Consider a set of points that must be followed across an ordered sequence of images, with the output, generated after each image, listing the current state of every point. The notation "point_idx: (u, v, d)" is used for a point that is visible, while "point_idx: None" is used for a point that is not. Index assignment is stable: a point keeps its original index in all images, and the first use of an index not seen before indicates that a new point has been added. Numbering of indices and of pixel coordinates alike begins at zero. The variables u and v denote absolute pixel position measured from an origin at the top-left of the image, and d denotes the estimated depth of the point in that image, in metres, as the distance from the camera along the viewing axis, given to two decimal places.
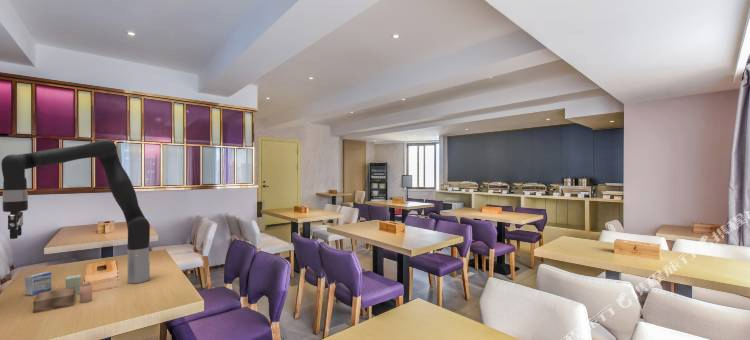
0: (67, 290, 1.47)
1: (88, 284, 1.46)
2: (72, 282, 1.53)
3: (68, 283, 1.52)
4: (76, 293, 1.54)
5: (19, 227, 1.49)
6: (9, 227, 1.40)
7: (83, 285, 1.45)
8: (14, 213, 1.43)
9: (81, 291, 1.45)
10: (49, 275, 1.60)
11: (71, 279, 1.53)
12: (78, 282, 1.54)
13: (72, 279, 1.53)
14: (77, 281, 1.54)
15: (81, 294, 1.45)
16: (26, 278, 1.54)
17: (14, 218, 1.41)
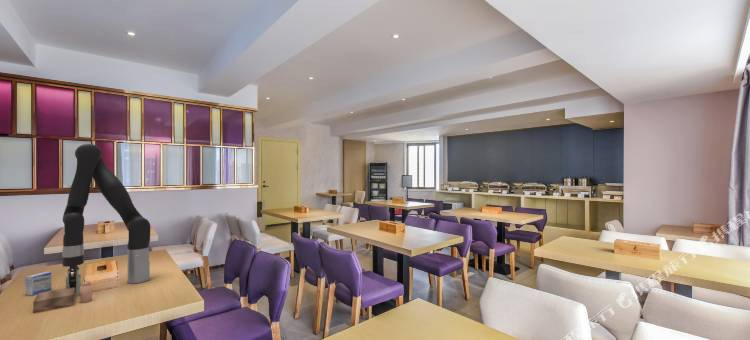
0: (67, 290, 1.47)
1: (88, 284, 1.46)
2: None
3: (68, 283, 1.52)
4: (76, 293, 1.54)
5: None
6: (70, 283, 1.50)
7: (83, 285, 1.45)
8: (73, 268, 1.52)
9: (81, 291, 1.45)
10: (49, 275, 1.60)
11: None
12: (78, 282, 1.54)
13: None
14: (77, 281, 1.54)
15: (81, 294, 1.45)
16: (26, 278, 1.54)
17: (74, 275, 1.51)
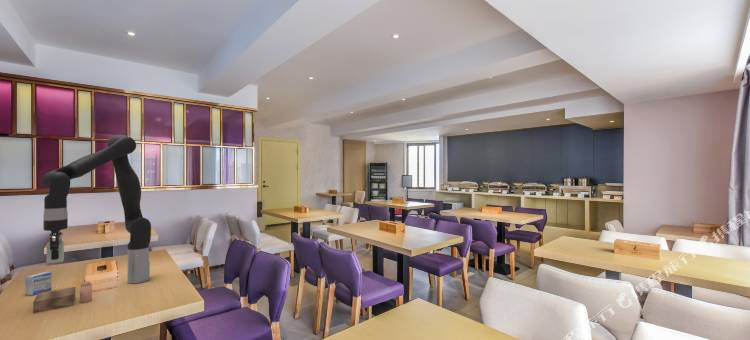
0: (67, 290, 1.47)
1: (88, 284, 1.46)
2: None
3: (49, 249, 1.40)
4: (58, 260, 1.42)
5: None
6: (51, 248, 1.38)
7: (83, 285, 1.45)
8: (55, 232, 1.40)
9: (81, 291, 1.45)
10: (49, 275, 1.60)
11: (53, 245, 1.41)
12: (60, 248, 1.42)
13: (54, 245, 1.41)
14: (59, 247, 1.42)
15: (81, 294, 1.45)
16: (26, 278, 1.54)
17: (56, 240, 1.38)
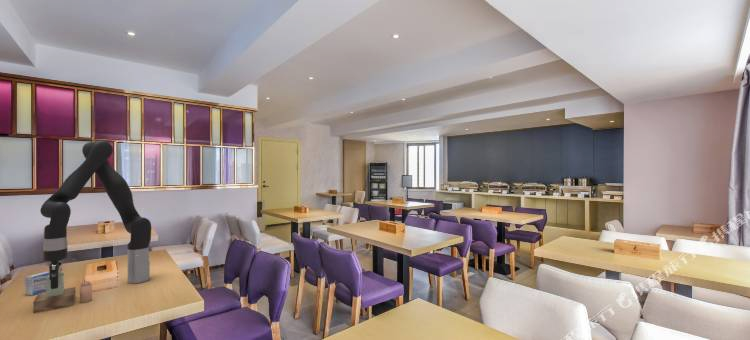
0: (67, 290, 1.47)
1: (88, 284, 1.46)
2: None
3: (49, 283, 1.40)
4: (58, 293, 1.41)
5: None
6: (50, 278, 1.37)
7: (83, 285, 1.45)
8: (55, 262, 1.40)
9: (81, 291, 1.45)
10: None
11: None
12: (60, 281, 1.42)
13: None
14: (59, 280, 1.42)
15: (81, 294, 1.45)
16: (26, 278, 1.54)
17: (55, 268, 1.38)
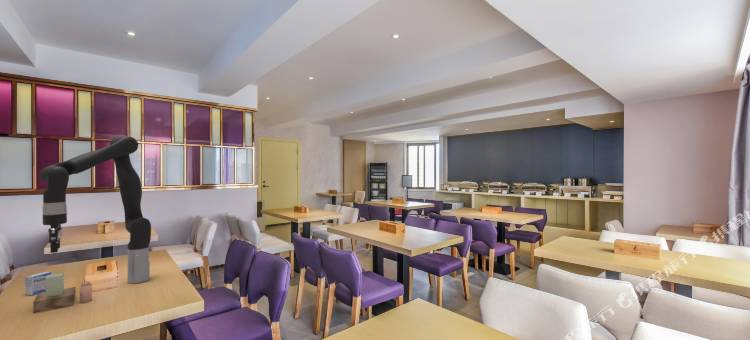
0: (67, 290, 1.47)
1: (88, 284, 1.46)
2: (53, 281, 1.41)
3: (48, 282, 1.40)
4: (57, 293, 1.41)
5: (58, 240, 1.46)
6: (50, 241, 1.37)
7: (83, 285, 1.45)
8: (54, 226, 1.40)
9: (81, 291, 1.45)
10: None
11: (52, 278, 1.40)
12: (60, 281, 1.42)
13: (53, 278, 1.41)
14: (58, 280, 1.42)
15: (81, 294, 1.45)
16: (26, 278, 1.54)
17: (55, 232, 1.38)
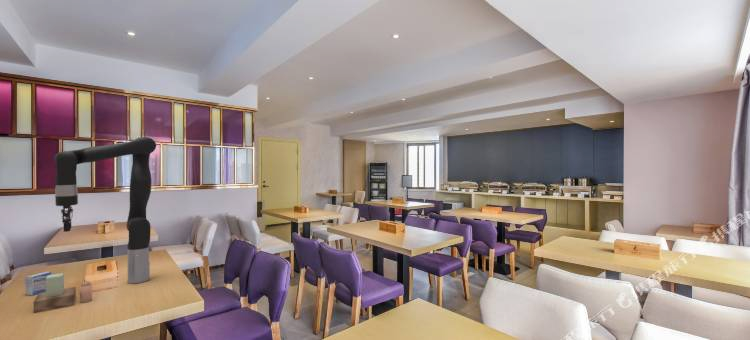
0: (67, 290, 1.47)
1: (88, 284, 1.46)
2: (53, 281, 1.41)
3: (48, 283, 1.40)
4: (58, 293, 1.41)
5: None
6: (63, 220, 1.46)
7: (83, 285, 1.45)
8: (67, 207, 1.50)
9: (81, 291, 1.45)
10: None
11: (52, 278, 1.40)
12: (60, 281, 1.42)
13: (53, 278, 1.41)
14: (59, 280, 1.42)
15: (81, 294, 1.45)
16: (26, 278, 1.54)
17: (68, 212, 1.47)
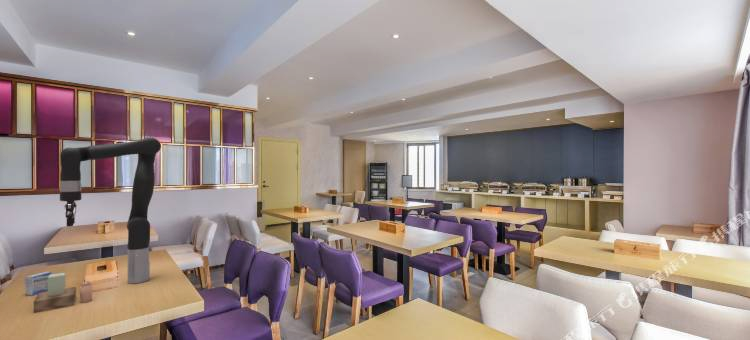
0: (67, 290, 1.47)
1: (88, 284, 1.46)
2: (55, 281, 1.41)
3: (50, 282, 1.40)
4: (59, 293, 1.42)
5: None
6: (67, 215, 1.49)
7: (83, 285, 1.45)
8: (70, 202, 1.53)
9: (81, 291, 1.45)
10: None
11: (54, 277, 1.41)
12: (62, 281, 1.42)
13: (55, 277, 1.41)
14: (60, 280, 1.42)
15: (81, 294, 1.45)
16: (26, 278, 1.54)
17: (71, 207, 1.50)
